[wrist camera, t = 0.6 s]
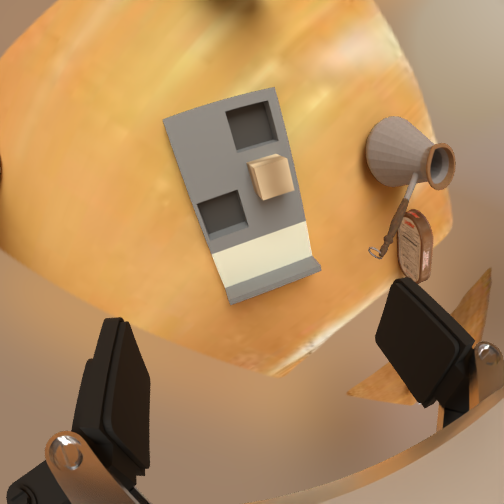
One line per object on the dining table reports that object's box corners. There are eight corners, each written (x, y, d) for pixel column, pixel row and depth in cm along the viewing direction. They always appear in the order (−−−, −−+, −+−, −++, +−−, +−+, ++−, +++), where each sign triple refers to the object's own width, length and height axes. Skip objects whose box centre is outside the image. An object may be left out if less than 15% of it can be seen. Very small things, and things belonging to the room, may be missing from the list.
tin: (406, 266, 54) (431, 287, 46) (395, 272, 54) (420, 294, 46) (404, 202, 46) (436, 219, 39) (392, 207, 46) (424, 225, 39)
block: (254, 191, 36) (262, 200, 33) (246, 162, 34) (254, 168, 31) (283, 182, 37) (294, 190, 33) (276, 153, 34) (287, 158, 31)
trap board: (224, 283, 44) (230, 305, 40) (163, 119, 31) (160, 119, 27) (306, 253, 46) (321, 270, 41) (268, 88, 33) (282, 84, 28)
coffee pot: (388, 101, 37) (460, 109, 24) (417, 153, 42) (482, 176, 29) (299, 189, 40) (355, 229, 27) (340, 236, 46) (395, 284, 33)
